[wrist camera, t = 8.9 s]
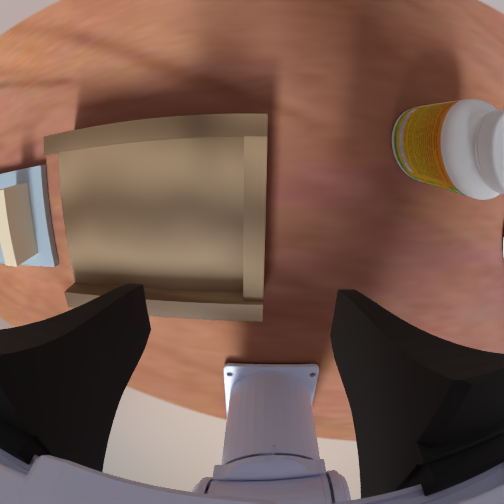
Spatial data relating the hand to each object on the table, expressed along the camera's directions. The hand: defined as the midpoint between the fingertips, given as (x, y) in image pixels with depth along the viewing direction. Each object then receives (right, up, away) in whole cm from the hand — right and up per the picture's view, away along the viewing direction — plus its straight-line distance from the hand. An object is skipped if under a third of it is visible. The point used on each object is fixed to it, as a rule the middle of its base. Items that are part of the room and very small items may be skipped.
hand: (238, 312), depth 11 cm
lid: (-22, +5, +10) cm, 25 cm away
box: (-6, +5, +9) cm, 12 cm away
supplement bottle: (+12, +10, +7) cm, 17 cm away
